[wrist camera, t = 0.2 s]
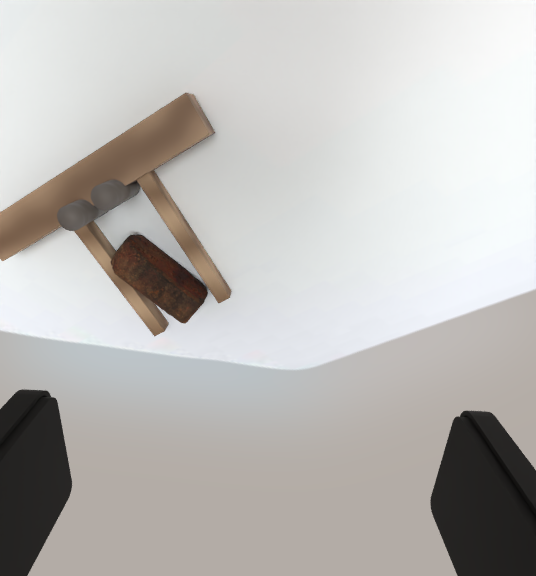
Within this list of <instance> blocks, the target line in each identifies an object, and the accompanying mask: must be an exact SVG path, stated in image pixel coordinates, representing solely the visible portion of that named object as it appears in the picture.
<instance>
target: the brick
mask: <svg viewBox="0 0 536 576" xmlns="http://www.w3.org/2000/svg"><path fill="white" fill-rule="evenodd" d="M110 263H111V265H112V266H113V267H112V269H113V271H114V274H116V275H117V276H118V277H119V278H120V279H122V280H123V281H124V282H126V283H127V284H129V285H130V286H131V287H132V288H134V289H135V290H137V291H138V292H140V293H141V294H142V295H144V296H145V297H146V298H148V299H149V300H151V301H152V302H153V303H155V304H156V305H157V306H159V307H160V308H161V309H163V310H164V311H166V312H167V313H168V314H169V315H171V316H173V317H174V318H175V319H177V320H178V321H179V322H181V323H186V322H188V320H189V319H190V318H191V316H192V315H193V314H194V313H195V312H196V311H197V310H198V308H199V307H200V306H201V305H202V304H203V303H204V300H205V298H206V296H207V294H208V291H207V289H206V288H205V286H204V285H203V284H202V283H201V282H200V281H198V280H197V279H196V278H194V277H193V276H192V275H191V274H190V273H189V272H188V271H187V270H186V269H185V268H183V267H182V266H181V265H179V264H178V263H177V262H176V261H174V260H173V259H172V258H170V257H169V256H168V255H167V254H165V253H164V252H163V251H161V250H160V249H159V248H158V247H156V246H155V245H154V244H152V243H151V242H150V241H149V240H147V239H146V238H145V237H143V236H142V235H130V236H129V237H128V238H127V239H126V240H125V241H124V243H123V244H122V245H121V246H120V248H119V249H118V250H117V251H116V253H115V255H114V257H113V258H112V260H111V262H110Z"/></svg>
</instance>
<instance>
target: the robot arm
mask: <svg viewBox="0 0 536 576" xmlns="http://www.w3.org/2000/svg"><path fill="white" fill-rule="evenodd" d="M71 488H72V479H71V474H70V469H69V463H68V457H67V452H66V446H65V441H64V435H63V430H62V425H61V419H60V413H59V409H58V403H57V400H56V398H52V397H51V396H50V394H49V392H48V391H42V390H19V391H17V392H16V393H15V394H14V395H13V396H12V397H11V398H10V399H9V401H8V402H7V403H6V404H5V405H4V406H3V407H2V408H1V409H0V576H27V575H28V573H29V571H30V569H31V568H32V566H33V564H34V562H35V560H36V558H37V556H38V555H39V553H40V551H41V549H42V547H43V545H44V543H45V541H46V539H47V537H48V536H49V534H50V532H51V530H52V528H53V526H54V524H55V523H56V521H57V519H58V517H59V515H60V513H61V511H62V510H63V508H64V506H65V504H66V502H67V500H68V498H69V496H70V492H71ZM431 510H432V514H433V517H434V519H435V522H436V524H437V526H438V529H439V531H440V534H441V536H442V539H443V541H444V544H445V546H446V548H447V551H448V553H449V556H450V558H451V561H452V563H453V565H454V568H455V570H456V573H457V575H458V576H536V470H535V469H534V467H533V466H532V465H531V463H530V462H529V461H528V459H527V458H526V457H525V455H524V454H523V453H522V451H521V450H520V449H519V447H518V446H517V445H516V444H515V442H514V441H513V440H512V438H511V437H510V436H509V434H508V433H507V432H506V430H505V429H504V428H503V426H502V425H501V424H500V422H499V421H498V420H497V418H496V417H495V416H494V415H493V414H492V413H490V412H482V411H463V412H462V413H461V415H460V417H455V419H454V420H453V423H452V427H451V430H450V434H449V437H448V440H447V444H446V447H445V451H444V455H443V458H442V461H441V465H440V468H439V471H438V475H437V478H436V482H435V485H434V489H433V492H432V496H431Z"/></svg>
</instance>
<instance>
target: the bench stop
mask: <svg viewBox="0 0 536 576" xmlns="http://www.w3.org/2000/svg"><path fill="white" fill-rule="evenodd" d="M213 133H215V132H214V130H213V128H212V126H211V124H210V123H209V121H208V119H207V117H206V116H205V114H204V112H203V110H202V109H201V107H200V105H199V103H198V101H197V100H196V98H195V96H194V95H193V94H189V93H185V94H183V95H182V96H180V97H178V98H177V99H175V100H174V101H172V102H171V103H169V104H168V105H166V106H164V107H163V108H161V109H160V110H158V111H157V112H155V113H154V114H152V115H151V116H149V117H147V118H146V119H144V120H143V121H141V122H140V123H138V124H137V125H135V126H134V127H132V128H130V129H129V130H127V131H126V132H124V133H123V134H121V135H120V136H118V137H116V138H115V139H113V140H112V141H110V142H109V143H107V144H106V145H104V146H103V147H101V148H99V149H98V150H96V151H95V152H93V153H92V154H90V155H89V156H87V157H86V158H84V159H82V160H81V161H79V162H78V163H76V164H75V165H73V166H72V167H70V168H69V169H67V170H65V171H64V172H62V173H61V174H59V175H58V176H56V177H55V178H53V179H51V180H50V181H48V182H47V183H45V184H44V185H42V186H41V187H39V188H38V189H36V190H34V191H33V192H31V193H30V194H28V195H27V196H25V197H24V198H22V199H21V200H19V201H17V202H16V203H14V204H13V205H11V206H10V207H8V208H7V209H5V210H3V211H2V212H0V259H1V260H2V261H4V260H6V259H7V258H9V257H11V256H13V255H15V254H17V253H18V252H20V251H22V250H24V249H26V248H27V247H29V246H30V245H32V244H34V243H35V242H37V241H39V240H40V239H42V238H43V237H45V236H47V235H48V234H50V233H52V232H53V231H55V230H57V229H58V228H60V227H61V226H62V227H63V228H65V229H66V230H69V231H75V233H76V234H77V235H78V237H79V238H80V239H81V240H82V242H83V243H84V244H85V246H86V247H87V248H88V250H89V251H90V252H91V254H92V255H93V256H94V258H95V259H96V260H97V261H98V263H99V264H100V265H101V267H102V268H103V269H104V271H105V272H106V273H107V275H108V276H109V277H110V279H111V280H112V281H113V282H114V284H115V285H116V286H117V288H118V289H119V290H120V292H121V293H122V294H123V296H124V297H125V298H126V300H127V301H128V302H129V304H130V305H131V306H132V307H133V309H134V310H135V311H136V313H137V314H138V315H139V317H140V318H141V319H142V321H143V322H144V323H145V325H146V326H147V327H148V328H149V330H150V331H151V332H152V334H153V335H154V336H156V335H158V334H160V333H162V332H164V331H165V330H166V327H167V325H168V322H167V320H166V319H165V317H164V316H163V315H162V313H161V312H160V311H159V309H158V308H157V307H156V305H155V304H154V303H153V302H152V301H151V300H149V299H148V298H146V297H145V296H144V295H142V294H141V293H140V292H138V291H137V290H135V289H134V288H132V287H131V286H130V285H129V284H127V283H126V282H124V281H123V280H122V279H120V278H119V277H118V276H117V275H116V274H114V271H113V269H112V267H113V266H112V265H111V263H110V262H111V260H112V258H113V257H114V255H115V253H116V251H115V249H114V248H113V247H112V245H111V244H110V243H109V241H108V240H107V239H106V237H105V236H104V235H103V233H102V232H101V230H100V229H99V228H98V226H97V225H96V224H95V222H94V221H93V220H95V219H97V218H98V217H100V216H102V215H103V214H105V213H107V212H108V211H109V210H111V209H113V208H115V207H116V206H118V205H120V204H121V203H123V202H125V201H126V200H128V199H130V198H131V197H133V196H135V195H136V194H137V193H138V192H139V189H140V186H141V188H142V189H143V191H144V192H145V194H146V195H147V197H148V198H149V200H150V201H151V203H152V204H153V206H154V207H155V209H156V210H157V212H158V213H159V215H160V216H161V218H162V219H163V221H164V222H165V224H166V225H167V227H168V228H169V230H170V231H171V233H172V234H173V236H174V237H175V239H176V240H177V242H178V243H179V245H180V246H181V248H182V249H183V251H184V252H185V254H186V255H187V257H188V258H189V260H190V261H191V263H192V264H193V266H194V267H195V269H196V270H197V272H198V273H199V275H200V276H201V278H202V279H203V281H204V282H205V284H206V285H207V287H208V288H209V290H210V291H211V293H212V294H213V296H214V297H215V299H216V300H217V302H218V303H221V302H223V301H224V300H226V299H228V298H230V294H231V290H230V288H229V286H228V285H227V283H226V282H225V280H224V279H223V277H222V276H221V274H220V272H219V271H218V269H217V268H216V266H215V265H214V263H213V262H212V260H211V259H210V257H209V255H208V254H207V252H206V251H205V249H204V248H203V246H202V245H201V243H200V241H199V240H198V238H197V237H196V235H195V234H194V232H193V231H192V229H191V227H190V226H189V224H188V223H187V221H186V220H185V218H184V217H183V215H182V213H181V212H180V210H179V209H178V207H177V206H176V204H175V203H174V201H173V199H172V198H171V196H170V195H169V193H168V192H167V190H166V189H165V187H164V185H163V184H162V182H161V181H160V179H159V178H158V176H157V175H156V173H155V172H154V170H155V169H156V168H158V167H160V166H161V165H163V164H164V163H166V162H168V161H169V160H171V159H173V158H174V157H176V156H177V155H179V154H181V153H182V152H184V151H186V150H187V149H189V148H191V147H192V146H194V145H195V144H197V143H199V142H200V141H202V140H204V139H205V138H207V137H209V136H210V135H212V134H213Z"/></svg>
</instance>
